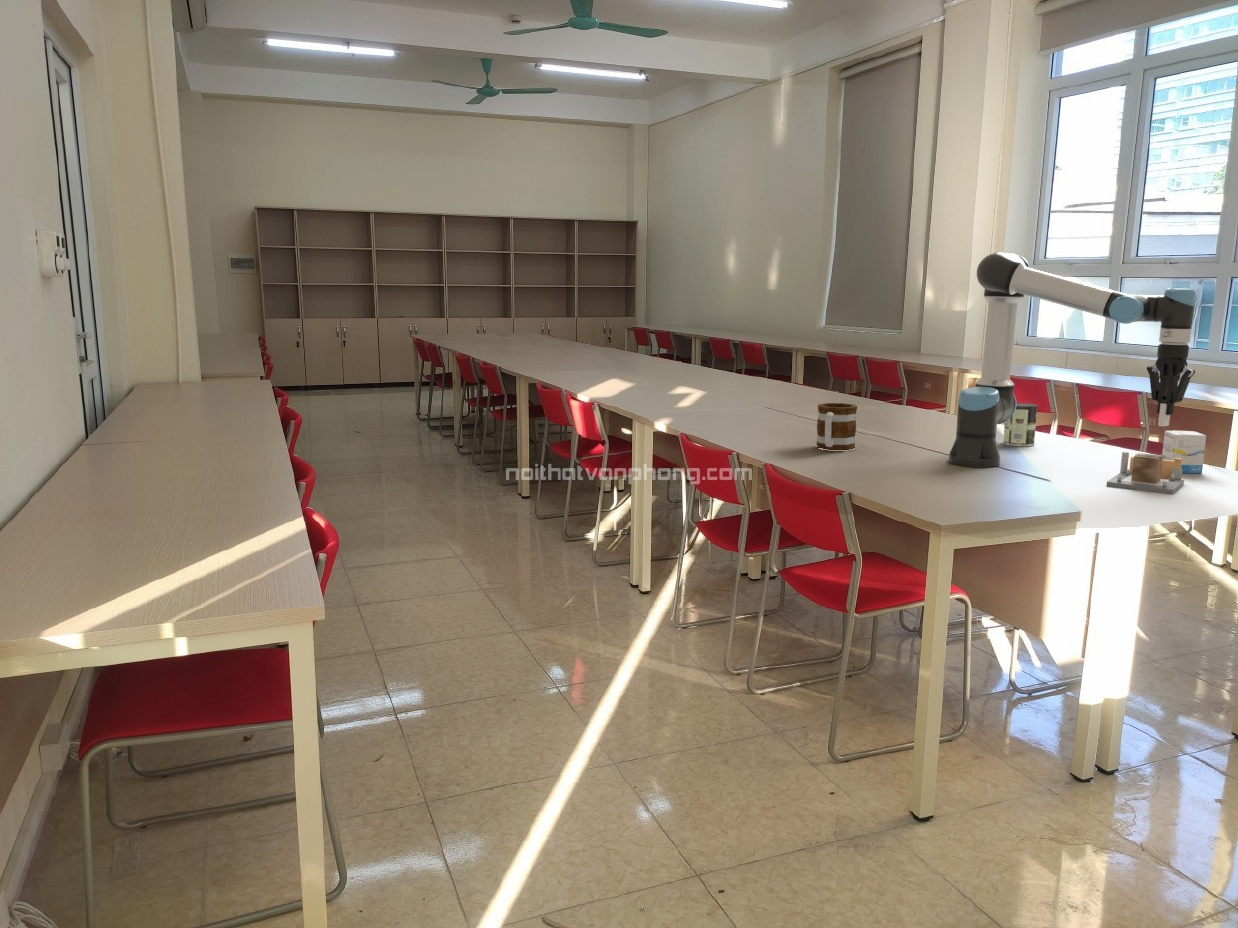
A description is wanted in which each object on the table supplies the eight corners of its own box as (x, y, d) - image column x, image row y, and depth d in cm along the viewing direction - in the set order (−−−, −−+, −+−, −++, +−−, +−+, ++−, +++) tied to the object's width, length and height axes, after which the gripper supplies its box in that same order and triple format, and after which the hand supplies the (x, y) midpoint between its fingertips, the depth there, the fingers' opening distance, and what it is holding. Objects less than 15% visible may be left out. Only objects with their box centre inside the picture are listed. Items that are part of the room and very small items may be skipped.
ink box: (1202, 474, 264) (1207, 435, 261) (1170, 473, 265) (1175, 434, 263) (1190, 468, 272) (1195, 430, 270) (1159, 467, 274) (1164, 429, 271)
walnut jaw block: (1131, 480, 249) (1133, 455, 248) (1135, 477, 254) (1138, 452, 252) (1155, 483, 245) (1158, 458, 244) (1160, 480, 250) (1163, 455, 248)
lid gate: (1128, 476, 260) (1130, 454, 259) (1129, 474, 261) (1131, 453, 260) (1178, 481, 253) (1181, 459, 251) (1179, 480, 254) (1182, 458, 253)
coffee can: (1026, 441, 319) (1029, 402, 317) (1039, 446, 309) (1043, 406, 307) (997, 441, 320) (1000, 402, 317) (1009, 446, 309) (1012, 406, 307)
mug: (820, 444, 317) (822, 402, 314) (859, 446, 311) (861, 404, 308) (806, 453, 300) (808, 409, 297) (847, 456, 294) (849, 411, 291)
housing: (1104, 485, 249) (1107, 461, 248) (1120, 474, 263) (1122, 451, 261) (1172, 494, 238) (1175, 468, 237) (1185, 482, 252) (1188, 458, 251)
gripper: (1143, 342, 257) (1133, 423, 262) (1188, 345, 246) (1177, 430, 251) (1160, 341, 261) (1150, 421, 265) (1205, 344, 249) (1194, 428, 254)
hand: (1163, 425), depth 258 cm, fingers closed
